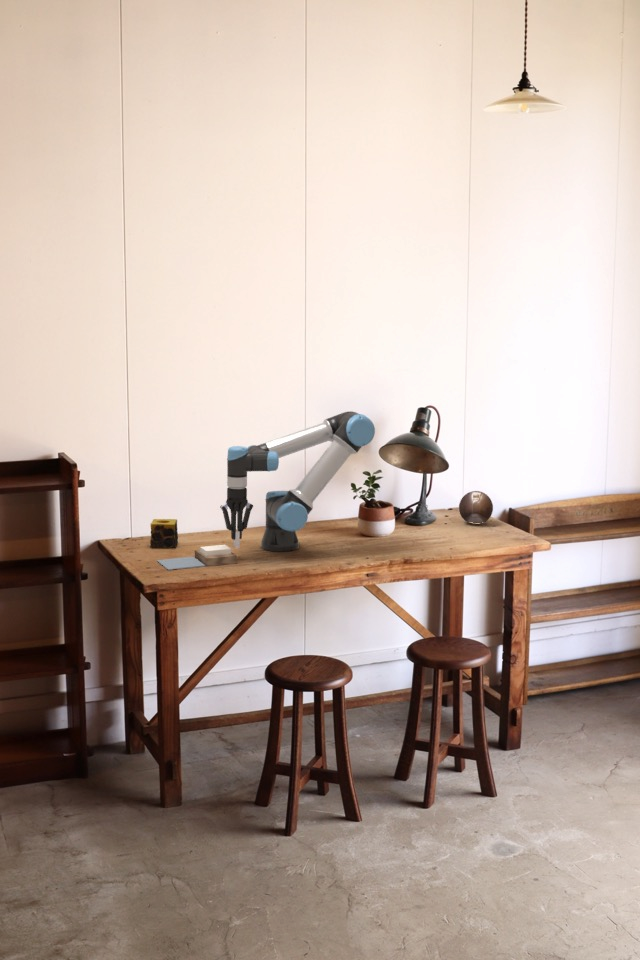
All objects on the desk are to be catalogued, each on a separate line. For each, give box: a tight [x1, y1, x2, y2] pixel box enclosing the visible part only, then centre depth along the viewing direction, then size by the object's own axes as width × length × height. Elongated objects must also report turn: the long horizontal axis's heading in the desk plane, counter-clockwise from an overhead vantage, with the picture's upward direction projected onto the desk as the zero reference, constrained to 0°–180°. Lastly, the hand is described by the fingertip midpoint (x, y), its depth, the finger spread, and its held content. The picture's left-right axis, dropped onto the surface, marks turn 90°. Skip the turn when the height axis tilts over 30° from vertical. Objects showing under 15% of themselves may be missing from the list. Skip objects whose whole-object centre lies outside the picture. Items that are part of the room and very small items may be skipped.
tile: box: [199, 544, 232, 556], centre depth 404 cm, size 10×7×2 cm
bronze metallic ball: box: [458, 490, 494, 524], centre depth 473 cm, size 15×15×15 cm
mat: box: [156, 556, 206, 571], centre depth 399 cm, size 14×14×1 cm
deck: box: [194, 549, 238, 567], centre depth 405 cm, size 12×14×3 cm
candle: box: [149, 518, 179, 549], centre depth 426 cm, size 10×10×10 cm
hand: (236, 547), depth 408 cm, fingers closed
